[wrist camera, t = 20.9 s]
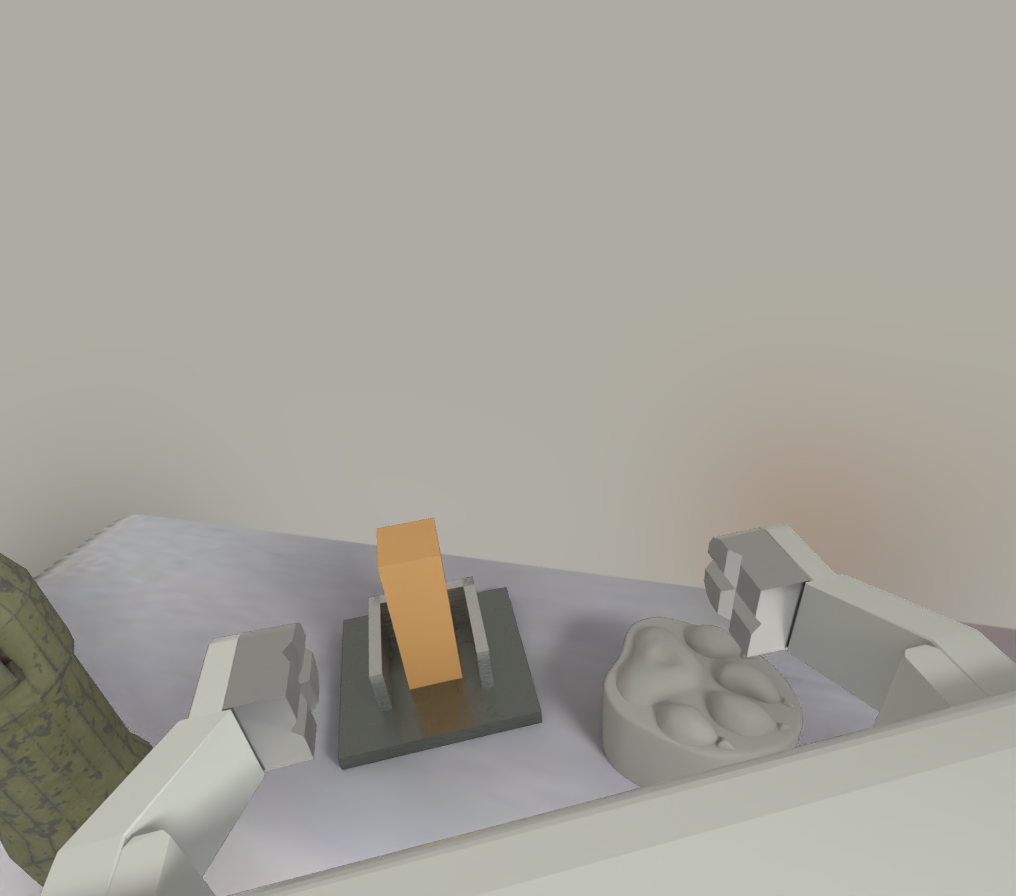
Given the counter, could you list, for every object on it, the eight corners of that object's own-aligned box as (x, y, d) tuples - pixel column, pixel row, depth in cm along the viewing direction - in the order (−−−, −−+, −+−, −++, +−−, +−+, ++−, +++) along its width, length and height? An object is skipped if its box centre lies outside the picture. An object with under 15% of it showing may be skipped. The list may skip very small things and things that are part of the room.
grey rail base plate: (542, 722, 48) (538, 675, 45) (342, 769, 46) (324, 723, 43) (507, 597, 60) (502, 553, 57) (347, 631, 58) (332, 586, 55)
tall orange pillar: (455, 636, 54) (433, 517, 47) (462, 677, 51) (440, 555, 43) (406, 647, 54) (376, 528, 46) (409, 689, 50) (377, 567, 42)
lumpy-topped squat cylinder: (635, 661, 53) (639, 591, 48) (794, 721, 47) (817, 648, 42) (590, 764, 45) (590, 694, 40) (773, 851, 39) (797, 781, 35)
